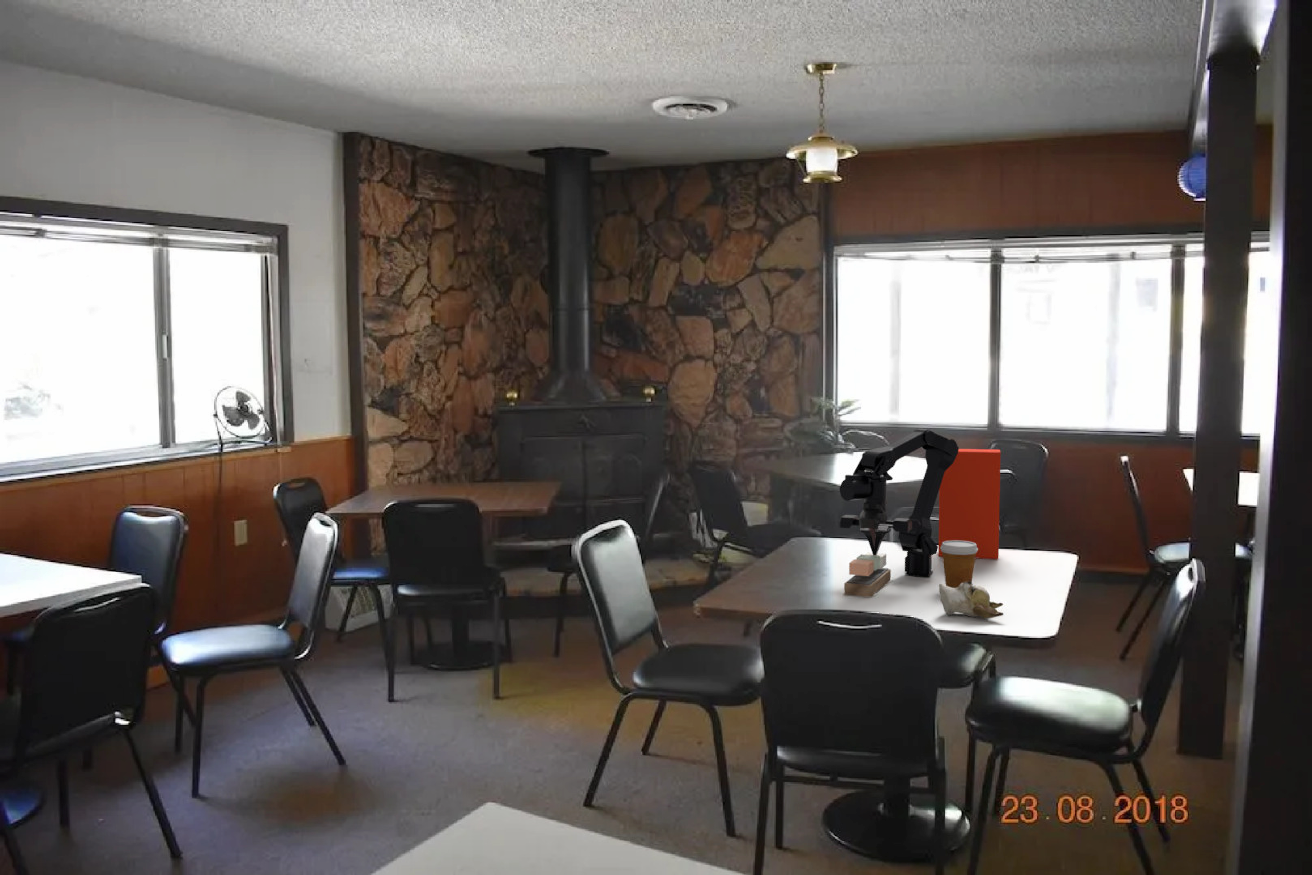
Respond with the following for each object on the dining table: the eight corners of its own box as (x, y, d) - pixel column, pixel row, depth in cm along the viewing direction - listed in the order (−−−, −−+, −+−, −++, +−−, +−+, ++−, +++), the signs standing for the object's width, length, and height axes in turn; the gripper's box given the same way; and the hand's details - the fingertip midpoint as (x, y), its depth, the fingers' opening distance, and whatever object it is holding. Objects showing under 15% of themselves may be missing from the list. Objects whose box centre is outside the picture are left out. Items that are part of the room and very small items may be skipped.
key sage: (879, 566, 286) (880, 555, 285) (875, 570, 281) (875, 559, 281) (861, 565, 288) (861, 554, 288) (856, 569, 283) (856, 557, 283)
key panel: (890, 580, 293) (890, 568, 293) (871, 597, 274) (871, 584, 274) (865, 578, 296) (865, 565, 296) (844, 594, 277) (844, 581, 277)
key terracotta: (873, 572, 279) (873, 560, 279) (868, 576, 275) (868, 564, 275) (854, 570, 282) (854, 559, 281) (849, 574, 277) (849, 562, 277)
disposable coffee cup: (957, 594, 276) (958, 548, 275) (932, 587, 285) (932, 542, 284) (985, 590, 281) (986, 544, 280) (959, 582, 289) (959, 538, 288)
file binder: (998, 559, 319) (1000, 452, 316) (938, 556, 324) (939, 451, 321) (997, 554, 327) (999, 449, 324) (938, 551, 332) (940, 448, 329)
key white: (886, 564, 292) (886, 553, 292) (881, 568, 288) (881, 557, 287) (867, 563, 294) (868, 552, 294) (863, 566, 290) (863, 555, 290)
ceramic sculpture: (940, 572, 262) (1005, 579, 258) (937, 607, 263) (1002, 614, 259) (938, 582, 252) (1005, 590, 247) (935, 618, 253) (1002, 626, 248)
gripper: (833, 499, 286) (832, 557, 287) (903, 503, 278) (902, 563, 279) (844, 494, 296) (844, 550, 297) (912, 497, 288) (912, 555, 289)
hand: (874, 554), depth 291 cm, fingers closed, pressing on key white
